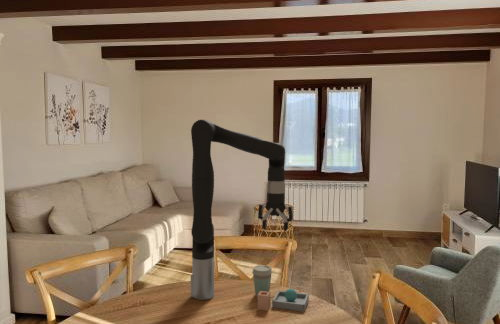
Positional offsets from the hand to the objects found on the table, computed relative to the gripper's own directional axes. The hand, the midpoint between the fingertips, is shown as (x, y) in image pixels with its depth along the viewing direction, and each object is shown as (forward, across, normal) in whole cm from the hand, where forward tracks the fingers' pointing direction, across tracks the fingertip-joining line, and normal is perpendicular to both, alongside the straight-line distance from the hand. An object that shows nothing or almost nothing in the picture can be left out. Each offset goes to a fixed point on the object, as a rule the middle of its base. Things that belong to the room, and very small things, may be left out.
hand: (275, 229), depth 168 cm
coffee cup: (+30, -6, +2) cm, 30 cm away
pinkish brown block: (+30, -2, -10) cm, 31 cm away
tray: (+30, +8, -3) cm, 31 cm away
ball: (+28, +8, -3) cm, 29 cm away
